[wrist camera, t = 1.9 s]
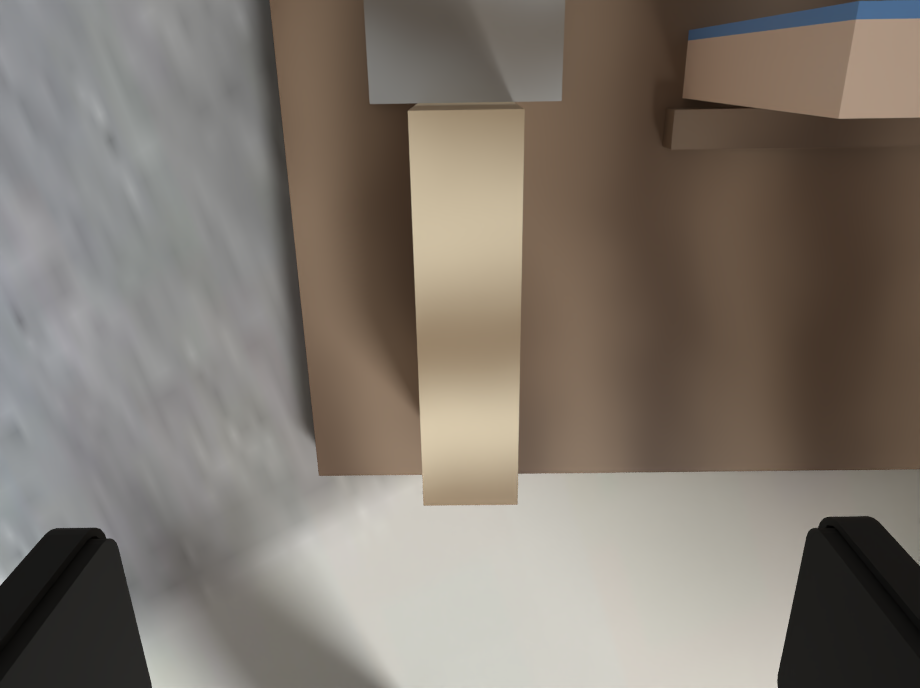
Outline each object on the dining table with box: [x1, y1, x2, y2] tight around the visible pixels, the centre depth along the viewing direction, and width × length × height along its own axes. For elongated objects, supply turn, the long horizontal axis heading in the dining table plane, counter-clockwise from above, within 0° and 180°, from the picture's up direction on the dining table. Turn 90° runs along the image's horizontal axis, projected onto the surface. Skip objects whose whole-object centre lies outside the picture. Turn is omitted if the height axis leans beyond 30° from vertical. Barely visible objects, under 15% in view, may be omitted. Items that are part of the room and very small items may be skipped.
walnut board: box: [269, 0, 920, 476], centre depth 22 cm, size 26×30×2 cm
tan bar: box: [364, 0, 565, 506], centre depth 21 cm, size 18×6×5 cm, turn 1°
